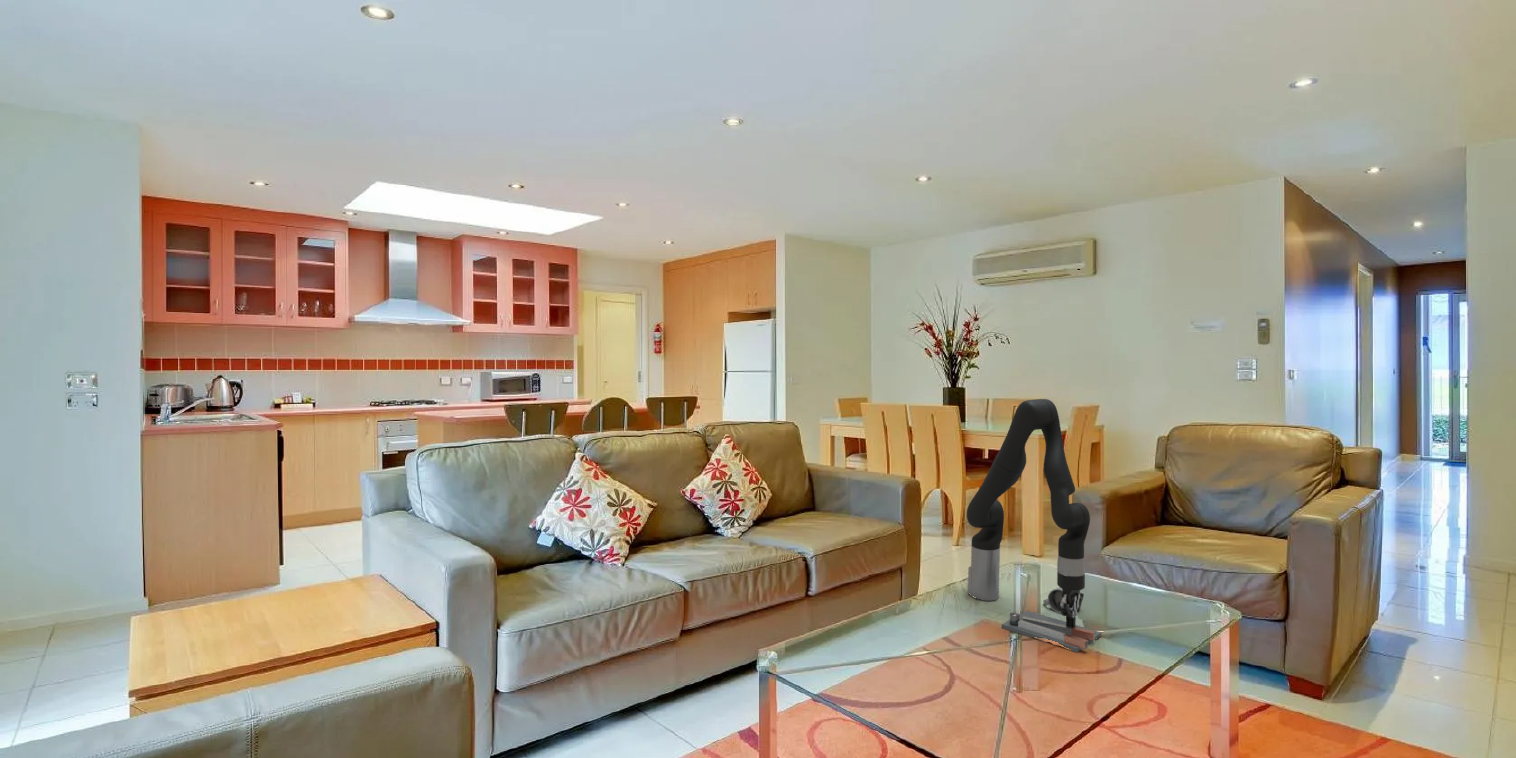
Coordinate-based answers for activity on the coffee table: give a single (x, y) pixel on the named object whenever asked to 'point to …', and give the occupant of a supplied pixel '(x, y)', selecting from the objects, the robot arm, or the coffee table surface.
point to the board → (1031, 634)
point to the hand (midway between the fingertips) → (1070, 628)
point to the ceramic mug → (1054, 599)
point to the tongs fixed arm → (1048, 632)
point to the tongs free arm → (1063, 628)
